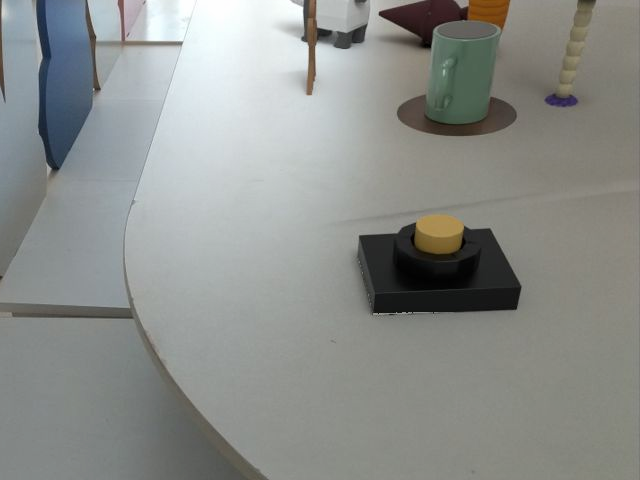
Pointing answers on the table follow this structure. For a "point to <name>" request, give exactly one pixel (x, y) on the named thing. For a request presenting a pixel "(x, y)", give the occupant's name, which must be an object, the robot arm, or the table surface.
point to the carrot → (489, 11)
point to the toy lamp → (572, 56)
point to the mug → (461, 71)
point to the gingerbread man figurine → (311, 45)
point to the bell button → (438, 234)
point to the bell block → (437, 274)
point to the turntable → (455, 124)
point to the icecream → (425, 16)
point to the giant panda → (338, 19)
